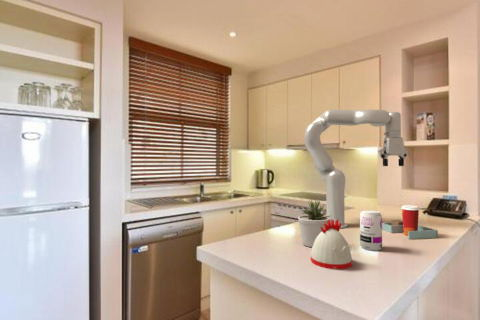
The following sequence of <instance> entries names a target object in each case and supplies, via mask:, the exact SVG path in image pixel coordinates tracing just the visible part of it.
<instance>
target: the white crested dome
mask: <svg viewBox="0 0 480 320" xmlns="http://www.w3.org/2000/svg"><path fill="white" fill-rule="evenodd" d="M341 224H342V223H339V225H338V220H336V221H335V225H334V220H331V223H330V220H328V222H327V224H326V223H324V227H325V229H323V228H322V227H321V230H322V232H321V233H320V234H319V235H318V236H317V238H316V239H315V241H314V244H313V247H311V252H310V261H311V263H312V264H313V265H315V266H318V267H320V268H324V269H330V270H344V269H349V268H351V267H352V265H353V256H352V253H351V250H350V247H349V244H348V242H347V240H346V238H345V237H344V235H342V233H341V232H340V230H341V228H340V227H341Z"/></svg>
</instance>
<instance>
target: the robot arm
mask: <svg viewBox="0 0 480 320" xmlns="http://www.w3.org/2000/svg"><path fill="white" fill-rule="evenodd" d="M401 119H402V114H401V112H400V111H391V112H389V111H388V110H384V109H327V110H325V111H324V112H323V113H322V114H320V116H318V118H316V119H315V120H313V122H311V123H309V124H308V125H307V126H306V127H305V130H304V137H303V138H304V140H303V141H304V146H305V148H306V150H307V152H308V153H309V155H310V156H311V158H312V160H313V161H312V164H313V166H314V168H315V169H316V171H317V172H318V174H319V176H320V177H321V179H322V180H323V181H324V183H326V191H325V192H326V193H325V194H326V195H325V196H326V202H325V205H326V213H327V214H326V216H329V217H327V218H328V219H329V220H330V223H331V220H334V225H335V221H336V220H338V225H339V223H342V224H341V227H340V229H344V228H347V227H348V226H349V225H348V223H346V222H345V216H346V215H345V188H346V175H345V173H344V172H343V171H342V170H340V169H338V168H336V167H335V166H334V164H333V161H334V160H333V158H332V156H331V155H330V154H329V152H328V151H327V149H326V148H325V146H324V145H323V144H322V142H321V135H322V134H323V133H324V132H325V131H327V130H328V129H329V128H330V127H331V126H351V127H352V126H358V125H365V124H366V125H367V124H368V125H369V124H370V126H372V127H375V128H377V127H378V128H379V127H383V126H384V128H385V131H384V132H383V135H384V136H385V137H384V139H383V144H382V148H380V149H379V150H378V154H379V157H380V158H381V159H382V167H388V166H389V158H388V157H389V156H398V167H404V166H405V159H406V157H407V156H408V154H409V151H408V150H407V149H406V148H405V142H404V138H403V137H402V120H401ZM330 215H332V216H330Z"/></svg>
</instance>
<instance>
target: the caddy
mask: <svg viewBox="0 0 480 320" xmlns="http://www.w3.org/2000/svg"><path fill="white" fill-rule="evenodd" d="M382 231H384V232H387V233H391V234H398V233H399V234H400V233H404V230H403V225H396V226H391V221H390V222H382ZM438 236H439V235H438V229H434V228H430V227H427V226H423V225H420V224H418V231H408V236H407V239H408V240H419V239H420V240H422V239H437V238H438Z"/></svg>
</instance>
